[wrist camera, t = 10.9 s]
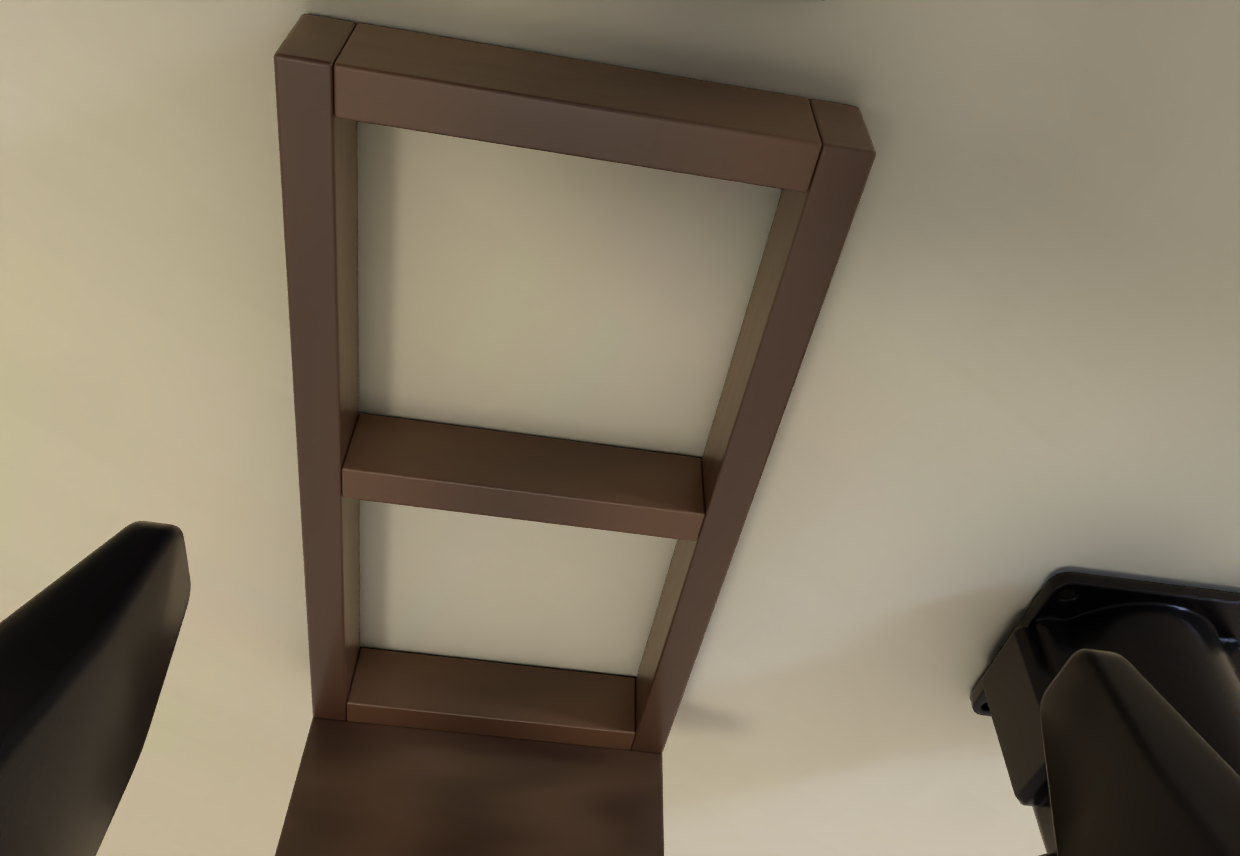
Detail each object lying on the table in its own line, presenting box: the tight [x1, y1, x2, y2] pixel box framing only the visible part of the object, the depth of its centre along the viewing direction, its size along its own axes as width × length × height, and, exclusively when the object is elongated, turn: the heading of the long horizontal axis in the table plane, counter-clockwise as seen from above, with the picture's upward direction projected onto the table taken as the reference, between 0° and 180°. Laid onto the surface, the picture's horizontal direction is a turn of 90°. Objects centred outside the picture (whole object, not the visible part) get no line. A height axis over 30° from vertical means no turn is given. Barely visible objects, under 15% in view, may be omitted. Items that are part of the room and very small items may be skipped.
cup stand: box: [274, 14, 876, 856], centre depth 24 cm, size 11×21×7 cm, turn 171°
